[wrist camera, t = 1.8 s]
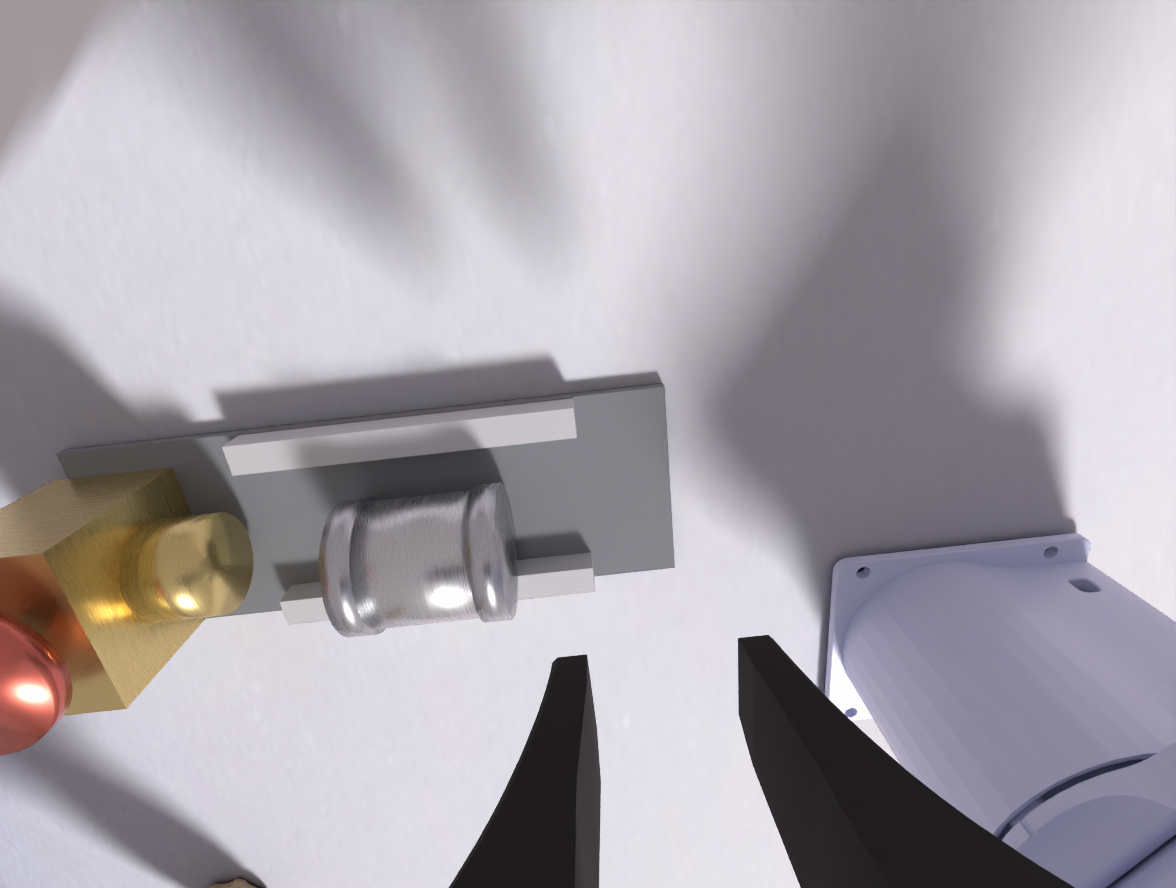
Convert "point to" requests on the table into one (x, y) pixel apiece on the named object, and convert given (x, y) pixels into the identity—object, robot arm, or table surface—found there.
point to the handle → (233, 884)
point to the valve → (105, 593)
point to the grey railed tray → (434, 484)
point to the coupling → (419, 560)
